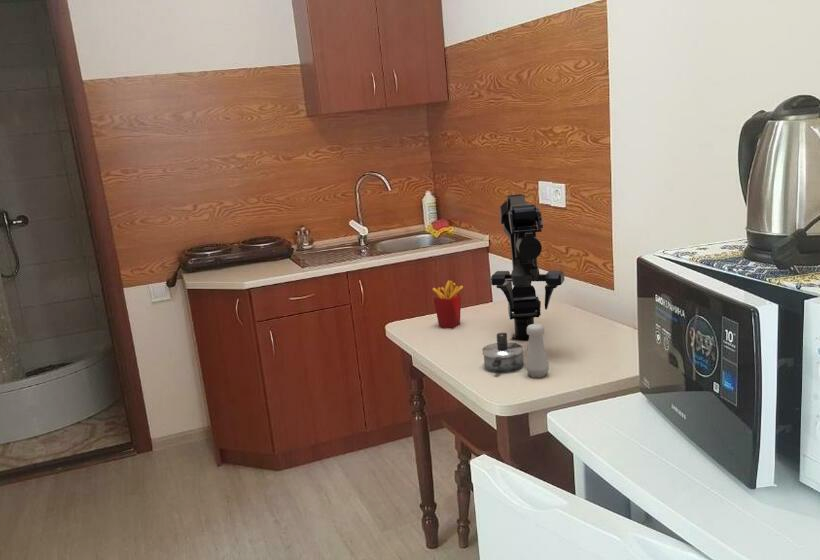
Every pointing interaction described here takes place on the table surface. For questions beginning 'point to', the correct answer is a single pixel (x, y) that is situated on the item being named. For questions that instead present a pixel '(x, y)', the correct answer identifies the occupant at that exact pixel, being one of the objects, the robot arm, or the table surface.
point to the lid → (502, 348)
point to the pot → (503, 364)
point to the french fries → (448, 305)
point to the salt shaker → (536, 352)
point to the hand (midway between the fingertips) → (529, 309)
